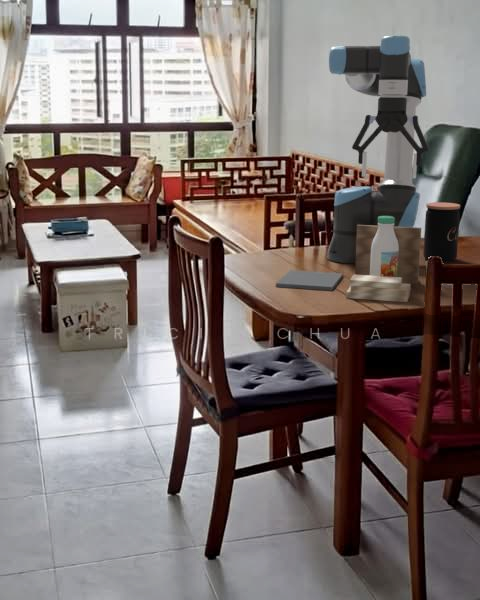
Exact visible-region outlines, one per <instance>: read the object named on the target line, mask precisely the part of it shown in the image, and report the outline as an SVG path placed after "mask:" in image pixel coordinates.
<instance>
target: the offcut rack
mask: <svg viewBox="0 0 480 600" xmlns="http://www.w3.org/2000/svg"><path fill="white" fill-rule="evenodd" d="M393 228H394V233H395V236H396V238H397V241H398V246H399V258H398V277H386V276H370V258H371V246H372V242H373V239H374V237H375V235H376V233H377V230H378V226H374V225H357V239H356V263H355V266H354V271H355V272H354V274H352V276H351V277H350V279H349V288H348V289H346V290H347V291H346V293H345V297H346V299H358V300H359V299H360V300H370V301H371V300H374V301H385V302H399V303H400V302H401V303H408V300H409V298H410V296H411V285H412V284H413V285H419V282H420V276H419V274H420V260H421V258H420V257H421V242H422V241H421V239H422V227H414V226H413V227H393Z"/></svg>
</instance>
